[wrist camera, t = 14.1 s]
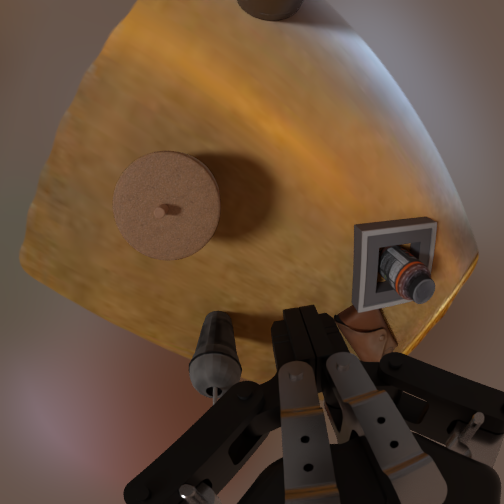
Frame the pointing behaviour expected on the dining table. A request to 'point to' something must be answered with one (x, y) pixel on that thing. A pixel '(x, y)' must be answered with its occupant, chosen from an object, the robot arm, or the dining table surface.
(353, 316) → the sunglasses case
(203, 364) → the beverage cup
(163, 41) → the dining table surface
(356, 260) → the holder block
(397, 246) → the supplement bottle
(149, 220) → the lidded bowl
